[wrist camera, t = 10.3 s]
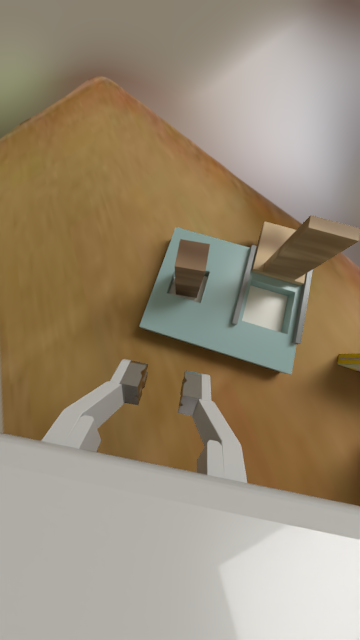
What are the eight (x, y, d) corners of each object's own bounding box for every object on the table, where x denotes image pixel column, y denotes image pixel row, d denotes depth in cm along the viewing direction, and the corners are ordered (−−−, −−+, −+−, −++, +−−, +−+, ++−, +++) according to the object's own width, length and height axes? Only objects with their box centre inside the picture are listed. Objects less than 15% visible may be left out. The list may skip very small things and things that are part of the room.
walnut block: (196, 298, 27) (205, 271, 18) (175, 294, 27) (174, 266, 18) (199, 278, 27) (209, 244, 19) (179, 275, 28) (180, 239, 19)
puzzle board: (280, 372, 25) (295, 375, 22) (142, 328, 26) (137, 325, 23) (298, 271, 29) (313, 261, 25) (176, 237, 30) (175, 223, 27)
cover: (300, 285, 25) (374, 245, 16) (250, 271, 26) (293, 223, 16) (308, 237, 27) (380, 175, 18) (262, 225, 28) (307, 157, 18)
